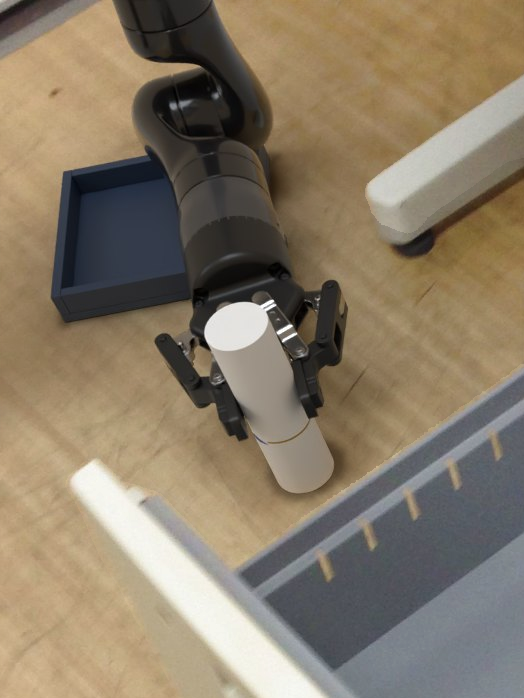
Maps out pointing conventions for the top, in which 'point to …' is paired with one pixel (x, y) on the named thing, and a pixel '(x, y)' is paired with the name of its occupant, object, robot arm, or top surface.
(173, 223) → the tray
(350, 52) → the top surface
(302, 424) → the tube
